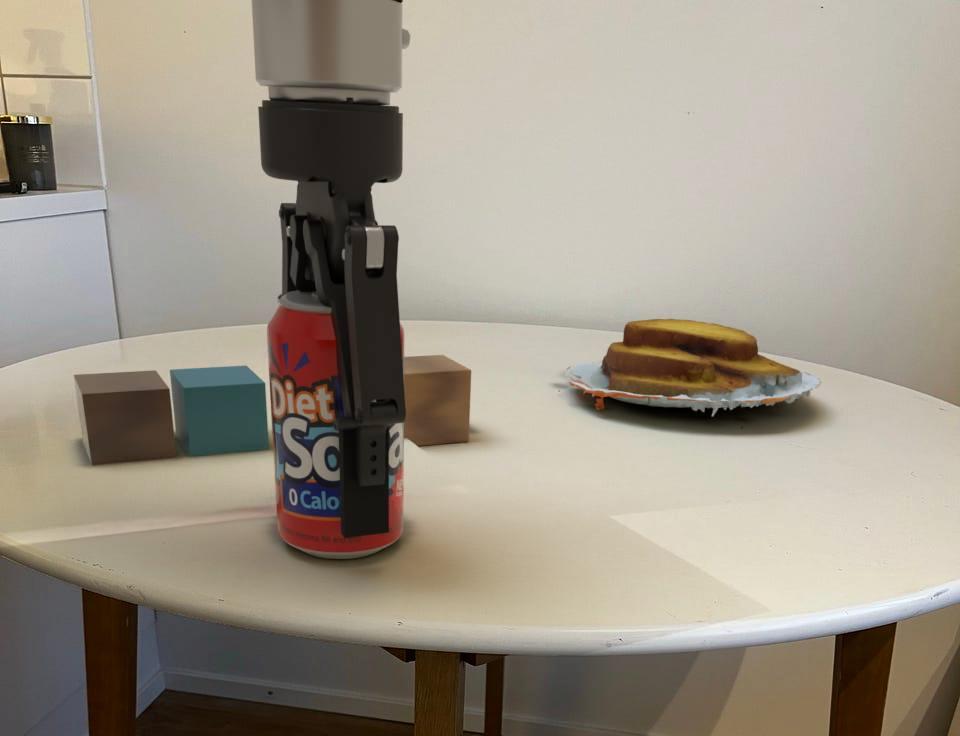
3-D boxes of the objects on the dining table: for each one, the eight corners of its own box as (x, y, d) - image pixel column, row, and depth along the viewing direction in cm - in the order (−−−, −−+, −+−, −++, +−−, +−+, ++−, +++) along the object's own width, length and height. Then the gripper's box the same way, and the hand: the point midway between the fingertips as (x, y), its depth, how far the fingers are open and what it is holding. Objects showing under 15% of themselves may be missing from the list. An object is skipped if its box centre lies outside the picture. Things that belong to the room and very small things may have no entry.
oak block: (402, 447, 83) (402, 374, 80) (377, 428, 88) (377, 358, 85) (469, 441, 85) (471, 369, 83) (441, 423, 90) (443, 354, 88)
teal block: (191, 467, 77) (183, 387, 74) (176, 445, 81) (169, 369, 79) (269, 460, 79) (265, 382, 76) (251, 438, 84) (246, 365, 81)
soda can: (374, 513, 69) (372, 283, 62) (423, 555, 63) (427, 304, 56) (262, 530, 66) (247, 288, 59) (303, 575, 60) (291, 311, 53)
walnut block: (93, 476, 74) (81, 393, 71) (84, 452, 79) (73, 374, 76) (177, 468, 76) (169, 388, 73) (164, 446, 81) (156, 370, 78)
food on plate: (593, 434, 89) (600, 358, 86) (537, 370, 111) (541, 308, 108) (864, 433, 93) (880, 360, 90) (758, 371, 114) (768, 311, 111)
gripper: (482, 102, 46) (465, 563, 56) (337, 99, 63) (344, 452, 73) (321, 94, 43) (334, 581, 53) (215, 93, 60) (241, 462, 71)
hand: (340, 506), depth 63 cm, fingers open, 9 cm apart
